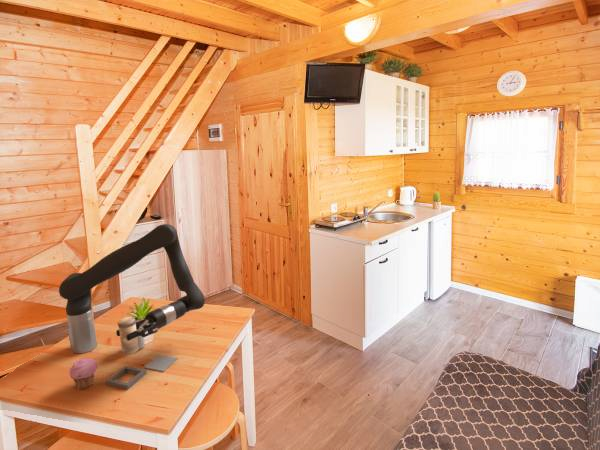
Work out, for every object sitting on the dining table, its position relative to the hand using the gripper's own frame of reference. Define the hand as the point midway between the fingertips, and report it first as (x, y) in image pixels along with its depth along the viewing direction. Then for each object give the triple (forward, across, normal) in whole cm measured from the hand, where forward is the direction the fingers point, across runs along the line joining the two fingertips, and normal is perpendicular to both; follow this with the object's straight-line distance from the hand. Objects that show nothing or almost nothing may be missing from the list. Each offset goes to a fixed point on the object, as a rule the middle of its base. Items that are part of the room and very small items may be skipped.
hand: (122, 335), depth 133 cm
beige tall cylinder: (-3, 0, +7) cm, 7 cm away
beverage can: (-15, -17, +18) cm, 29 cm away
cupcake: (+10, -10, +18) cm, 23 cm away
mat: (-13, +2, +18) cm, 22 cm away
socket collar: (0, -1, +18) cm, 18 cm away
